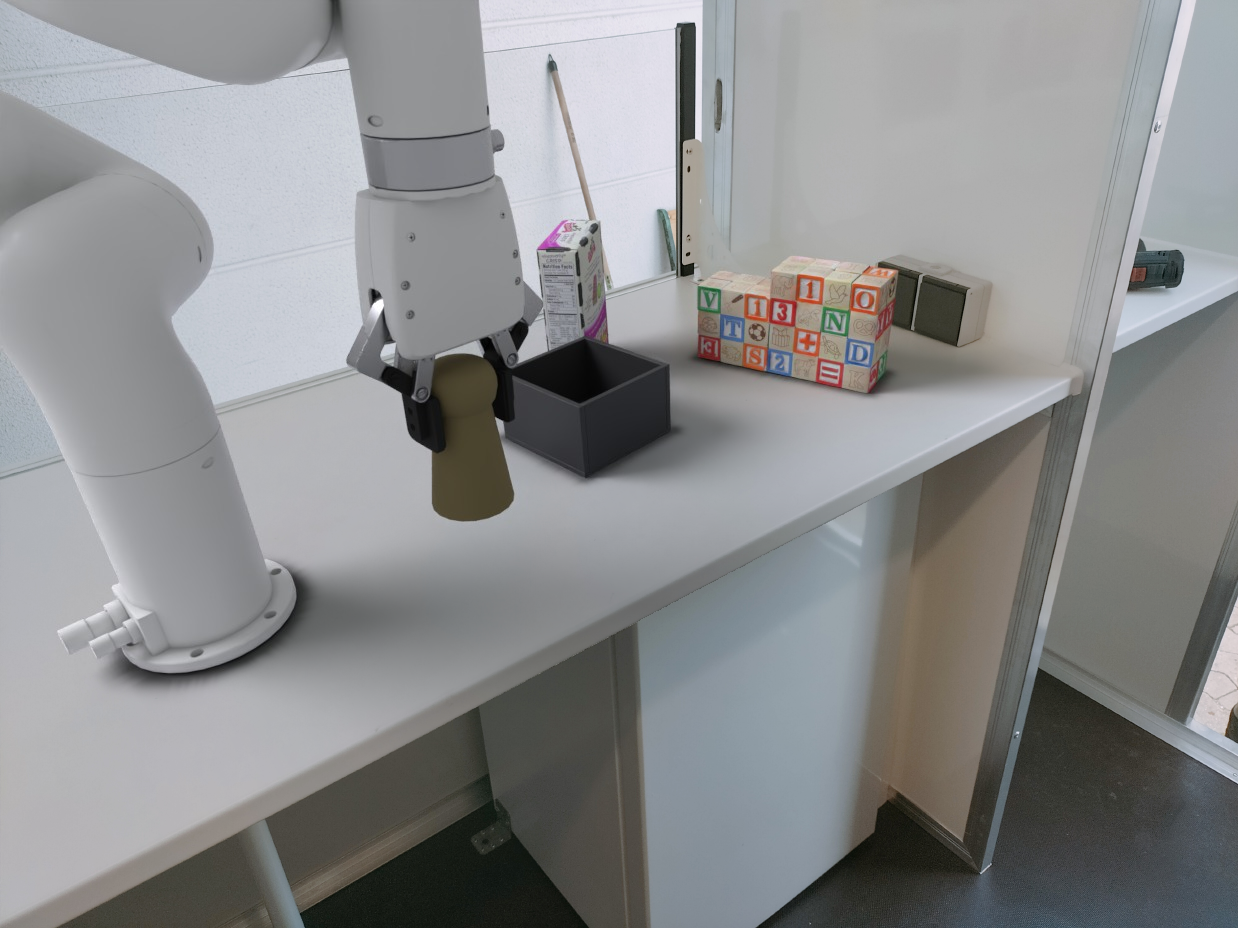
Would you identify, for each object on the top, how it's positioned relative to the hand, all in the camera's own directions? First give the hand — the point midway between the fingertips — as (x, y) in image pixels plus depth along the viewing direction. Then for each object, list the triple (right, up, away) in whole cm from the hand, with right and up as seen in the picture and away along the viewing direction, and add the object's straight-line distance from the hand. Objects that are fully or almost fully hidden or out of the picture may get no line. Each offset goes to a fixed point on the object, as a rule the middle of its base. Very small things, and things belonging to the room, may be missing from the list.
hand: (464, 428), depth 60 cm
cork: (0, -5, +3) cm, 6 cm away
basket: (+8, 0, +29) cm, 30 cm away
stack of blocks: (+31, +9, +41) cm, 52 cm away
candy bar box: (+6, +9, +43) cm, 45 cm away
